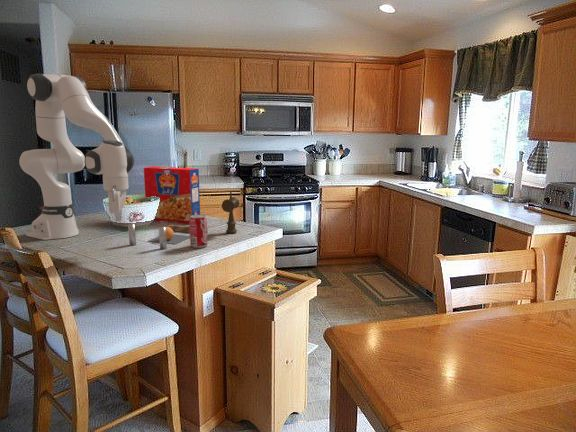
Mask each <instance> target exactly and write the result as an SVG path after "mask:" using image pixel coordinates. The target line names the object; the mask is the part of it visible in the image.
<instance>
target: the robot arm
mask: <svg viewBox="0 0 576 432" xmlns="http://www.w3.org/2000/svg"><path fill="white" fill-rule="evenodd" d="M26 87H27V92H28V94H29V96H30V97H31V98H32V99H33V100H35V111H34V112H35V124H36V133H37V135H38V137H40V138H41V139H42V140H44V141H47V142H50V143H52V145H53V148H37V149H34V148H33V149H30V150H25V151H23V152H22V153H21V155H20V157H19V166H20V169H21V170H22V171H23V172H24V173H25V174H27V175H29V176H31V177H32V178H33V179H34V180H35V181H36V183H37V184H38V185H39V186H40V189H41V193H42V198H43V199H42V200H43V206H39V209H40V210H41V213H40V215H39V216H38V217H37V218H35V219H33V221H32V222H31V231H28V232H27V233H25V234H26V235H25V236H26V237H30V238H34V239H37V240H38V239H39V240H43V241H47V240H55V239H67V238H71V237H75V236H77V235H79V231H80V230H79V228H78V225H77V222H76V217H75V214H74V209H75V207H74V204H73V201H72V200H73V199H72V192H71V191H72V190H71V187H70V186H69V185H68V184H67V183H65V182H63V181H60V180H57V179H56V177H55V175H57V174H59V175H60V174H73V173H77V172H81V171H83V169H84V168H85V169H86V170H87V171H88V172H89V173H91V174H93V175H102V185H103V190H104V191H107V194H108V195H107V197H108V199H107V200H108V211H109V212H108V213H110V214H114V216H115V221H116V222H121V220H122V212H123V208H124V206H125V204H126V202H127V201H126V198H127V190H128V189H130V187H129V174H128V173H129V172H130V171H131V170H132V169H133V167H134V165H135V157H134V155H133V153H132V151H130V149H129V148H128V147H127V146H126V145H125V144H124V141H123V140H122V138H121V137H120V135H119V134H118V132H117V130H116V128H115V126H114V125H113V124H112V122H111V120H110V119H109V118H108V117H107V116H106V115H105V114H104V113H102V112H101V111H100V110H99V109H98V108H97V107H96V105H95V103H93V101H92V99H91V97H90V95H89V92H88V87H87V84H86V82H85V80H84V79H83V78H82V77H80V76H77V75H68V74H62V73H35V74H31V75H30V76H29V77H28V78H27V81H26ZM66 119H68V121H69V122H70V123H72V124H74V125H76V126H77V127H78V126H79V127H82V128H85V129H89V130H92V131H93V132H96V133H98V134H99V135H100V136H102V137H101V138H103V140H104V141H102V142H101V143H100V145H99V146H98V147H96V148H94V149H91V150H88V152H86V154H85V155H84V153H83V152H82V151H81V150H80V149H78V148H77V147H75V146H74V144H73V143H72V142H71V140H70V138H69V136H68V132H67V124H66Z"/></svg>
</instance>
